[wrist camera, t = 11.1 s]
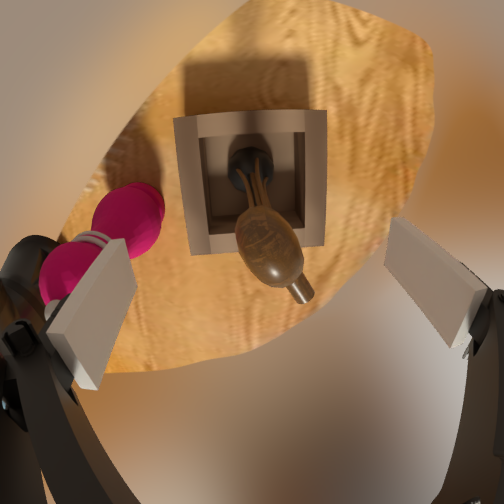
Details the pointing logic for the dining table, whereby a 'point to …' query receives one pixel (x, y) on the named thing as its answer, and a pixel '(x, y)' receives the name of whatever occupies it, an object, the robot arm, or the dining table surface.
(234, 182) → the wooden tabletop sculpture
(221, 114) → the box
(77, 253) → the pepper mill
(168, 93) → the dining table surface
